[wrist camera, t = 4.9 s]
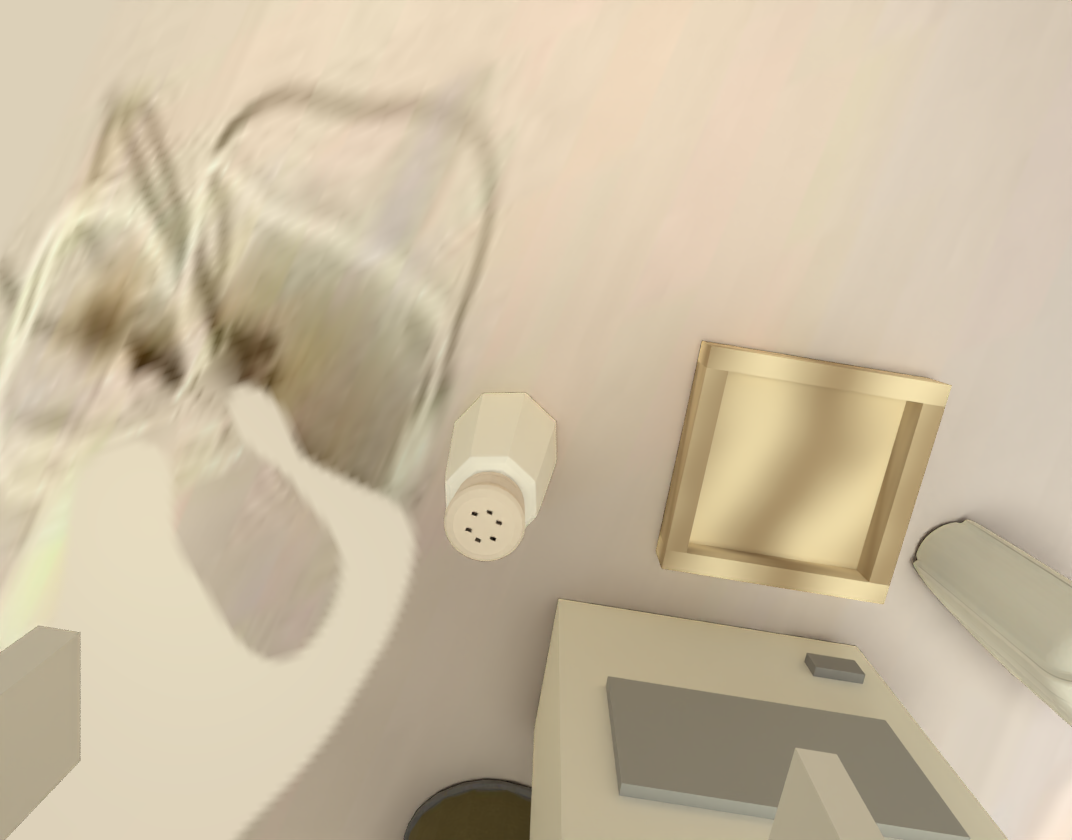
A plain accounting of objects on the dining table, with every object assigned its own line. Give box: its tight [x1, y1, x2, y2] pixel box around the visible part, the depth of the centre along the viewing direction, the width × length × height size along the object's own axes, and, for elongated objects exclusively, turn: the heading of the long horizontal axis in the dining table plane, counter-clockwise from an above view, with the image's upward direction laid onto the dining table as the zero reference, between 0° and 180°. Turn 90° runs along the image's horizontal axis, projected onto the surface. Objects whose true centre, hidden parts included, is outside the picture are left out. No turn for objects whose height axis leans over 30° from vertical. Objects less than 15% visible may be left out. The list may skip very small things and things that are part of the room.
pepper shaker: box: [444, 393, 557, 561], centre depth 28 cm, size 5×5×11 cm
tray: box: [656, 341, 952, 604], centre depth 32 cm, size 11×11×2 cm
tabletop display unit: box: [530, 599, 1008, 840], centre depth 29 cm, size 16×9×16 cm, turn 81°
